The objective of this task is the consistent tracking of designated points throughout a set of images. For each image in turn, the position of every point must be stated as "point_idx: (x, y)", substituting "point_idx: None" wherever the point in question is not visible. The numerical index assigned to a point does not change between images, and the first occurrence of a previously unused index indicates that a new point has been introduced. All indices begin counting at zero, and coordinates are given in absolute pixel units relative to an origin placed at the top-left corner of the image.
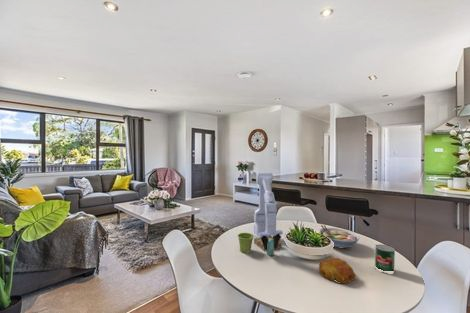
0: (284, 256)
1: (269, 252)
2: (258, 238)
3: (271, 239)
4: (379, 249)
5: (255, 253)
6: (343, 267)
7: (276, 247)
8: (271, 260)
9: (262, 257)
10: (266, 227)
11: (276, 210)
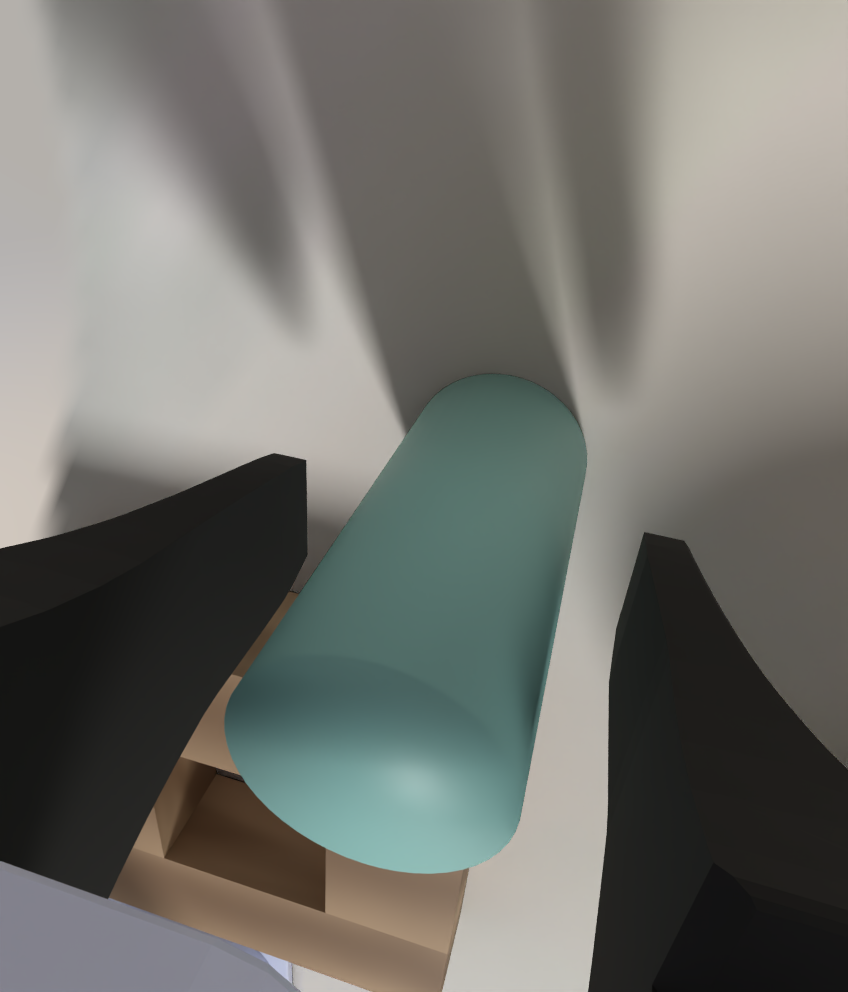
0: (221, 156)
1: (563, 456)
2: (361, 966)
3: (297, 777)
4: None
5: (796, 681)
6: None
7: (270, 460)
8: (764, 135)
9: (836, 442)
10: None
11: None
